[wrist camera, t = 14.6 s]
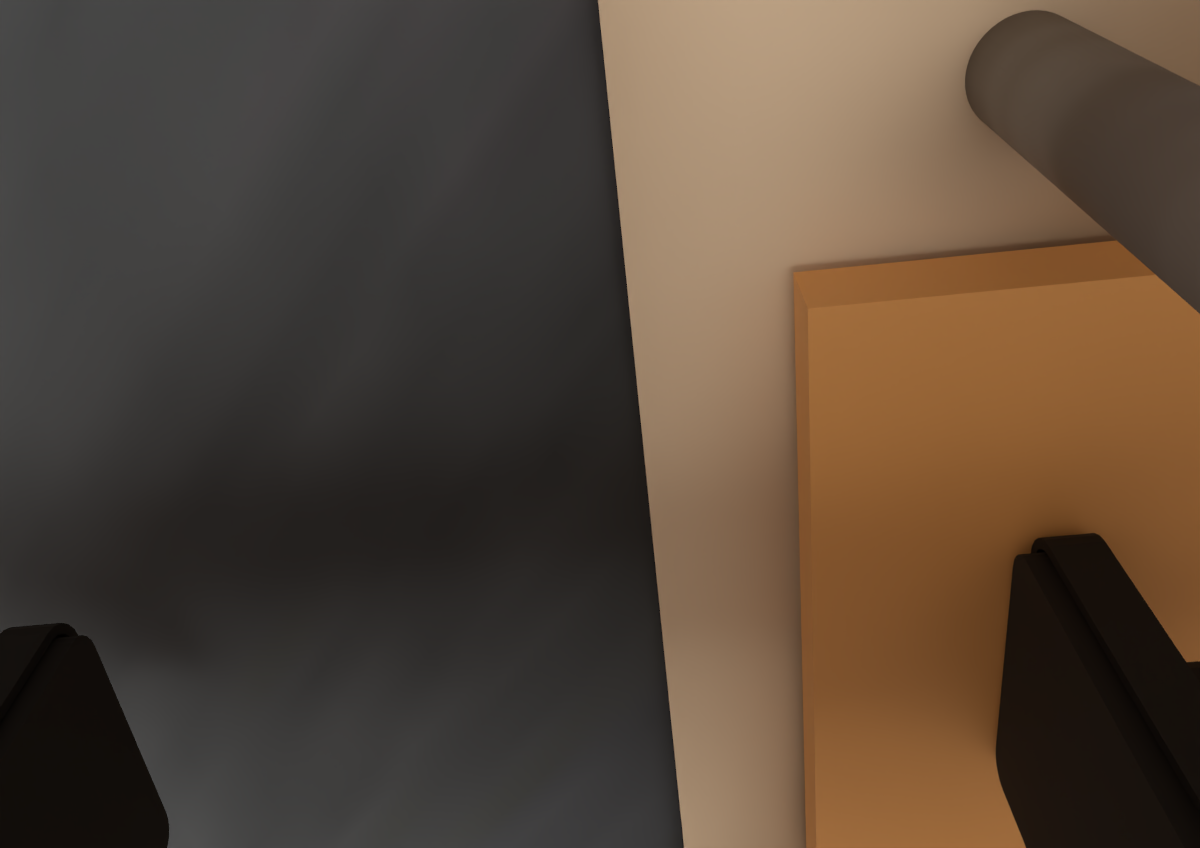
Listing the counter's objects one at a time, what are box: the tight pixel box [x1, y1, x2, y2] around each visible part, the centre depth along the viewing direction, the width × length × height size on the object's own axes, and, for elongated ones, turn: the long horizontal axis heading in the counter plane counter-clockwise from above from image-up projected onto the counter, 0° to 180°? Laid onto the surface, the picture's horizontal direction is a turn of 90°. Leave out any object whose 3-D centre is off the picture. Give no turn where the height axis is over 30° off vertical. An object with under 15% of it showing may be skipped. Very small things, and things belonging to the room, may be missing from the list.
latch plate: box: [793, 240, 1200, 848], centre depth 12 cm, size 4×8×1 cm, turn 6°
